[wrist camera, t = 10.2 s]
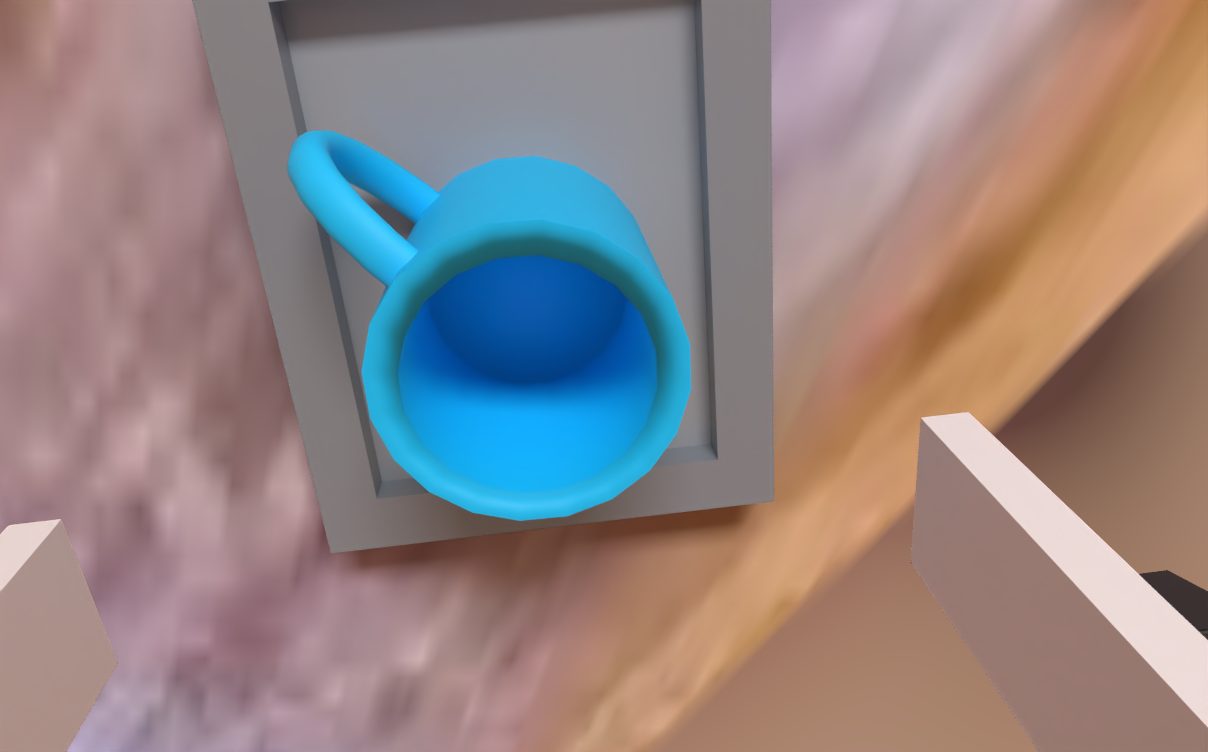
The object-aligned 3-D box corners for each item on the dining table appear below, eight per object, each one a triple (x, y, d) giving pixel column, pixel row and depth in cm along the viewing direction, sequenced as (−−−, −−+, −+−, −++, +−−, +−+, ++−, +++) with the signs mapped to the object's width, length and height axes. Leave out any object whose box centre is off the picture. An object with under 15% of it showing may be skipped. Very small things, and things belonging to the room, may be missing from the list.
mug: (700, 266, 30) (759, 360, 23) (543, 434, 32) (549, 572, 25) (407, 10, 26) (361, 21, 19) (249, 220, 28) (151, 307, 21)
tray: (344, 512, 34) (331, 553, 32) (206, -68, 26) (173, -73, 24) (756, 464, 35) (774, 501, 33) (747, -116, 27) (769, -125, 24)
